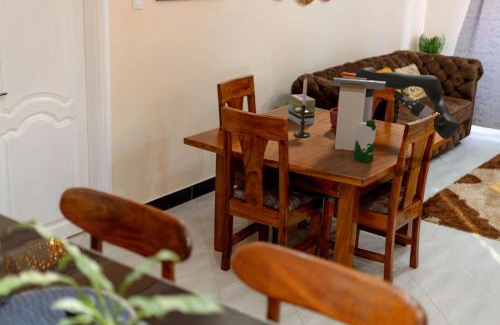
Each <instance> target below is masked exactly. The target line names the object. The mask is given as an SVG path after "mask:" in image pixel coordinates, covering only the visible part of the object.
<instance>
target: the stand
mask: <svg viewBox="0 0 500 325" xmlns="http://www.w3.org/2000/svg"><path fill="white" fill-rule="evenodd" d="M343 78H345V79H358V80H367V78H356V76H355V77H352V76H343ZM364 87H365V86H362V85H350V84H340V86H339V94H338V107H337V108H338V117H337V130H336V134H335V146H334V149H335V150H342V149H343V150H345V151H354V150H355V140H356V125H357V124H359V123H362V122H363V115H364V105H365V94H366V88H364Z"/></svg>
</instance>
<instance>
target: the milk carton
mask: <svg viewBox="0 0 500 325" xmlns="http://www.w3.org/2000/svg"><path fill="white" fill-rule="evenodd" d="M377 129H378V124H376V121H374V120H372V119H371V120H368V121H367V123H366V122H362V123H359V124H357V125H356V140H355V150H354V153H353V160H354V161H356V162H357V161H358V162H361V163H365V164H367V163H369V162H371V161H373V160H374V154H375V145H376V144H375V142H376V133H377Z"/></svg>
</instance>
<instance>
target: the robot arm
mask: <svg viewBox="0 0 500 325" xmlns="http://www.w3.org/2000/svg"><path fill="white" fill-rule="evenodd" d="M355 78H367V80H370V81H383V82H386V84H385V88H387V89H392V90H393V89H394V92H393V98H394V99H395V100H397V101H398V102H399V103H400V105H402V106H404V107H406V108H407V109H408V110H409V114H411V115H413V116H414V117H416V118H417V119H418V120H420V121H422V120H421V119H423V118H426V117H428V116H430V115H433V113H434V114H435V113H436V112H438V113H440V115H439V114H438V116H436V117H435V119H434V125H433V126H434V129H433V130H434V131H435V132H436V133H437V135H439V136H440V137H441V138H442V139H444V140H450V139H451V138H452V137H453V136H454V134H456V133H457V131H459V123H458V121H457V120H456V119H455V118H454V117H453V116H452V115H451V112H450V110H449V108H448V105H447V104H446V101H445V99H444V94H443V87H442V84H441V82H440V80H439V78H438V77H437V76H435V75H431V74H428V75H427V74H426V75H425V74H410V73H403V72H397V71H379V72H378V71H376V69H375V68H373V67H371V66H370V67H365V68H364V67H363V68H360V69H358V70H357V71H356V74H355ZM411 87H415V88H421V89H422V90H423V92H424V95H426V97H427V98H428V99H429V101H430V102H431V104H432V108H433V109H432V108H431V107H430V106H429V105H426V104H425V103H424V102H422V101H421V100H419V99H418V100H416V101H415V102H414V100H413V99H412V98H410V97H409V96H408V95H406V94H405V93H402V92H400V91H402V90H403V91H404V90H406V89H409V88H411ZM399 90H400V91H399ZM375 91H376V89H367V88H366V94H365V105H364V115H363V122H366V123H367V121H368V120H371V121H372V114H373V102H374V94H375Z"/></svg>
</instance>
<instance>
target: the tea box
mask: <svg viewBox="0 0 500 325" xmlns="http://www.w3.org/2000/svg"><path fill="white" fill-rule="evenodd" d="M302 100H303V93H301V94H300V93H299V94H289V96H288V108H287V109H288V114H287V119H289V120H290V121H292V122H294V123H295V124H297V125H299V126H301V123H300V121H302V114H298V113H295V112H294V111H293V110H294V108H298V107H302V106H301V104H302ZM306 105H308V106H306V108H311V109H313V110H314V112H313V113H312V114H305V115H304V121H305V124H304V126H305V125H314V123H315V115H316V114H315V113H316V112H315V111H316V99H315V98H312V97H310V96H308V95H306Z"/></svg>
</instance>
